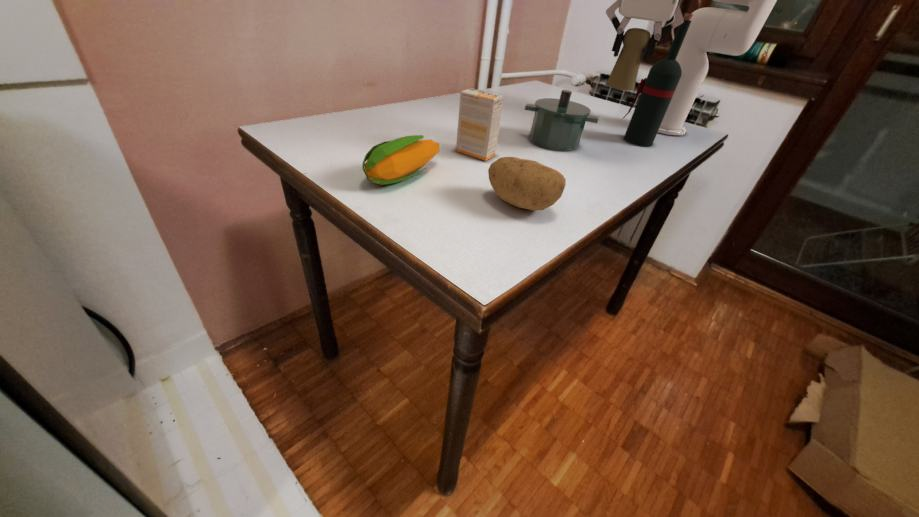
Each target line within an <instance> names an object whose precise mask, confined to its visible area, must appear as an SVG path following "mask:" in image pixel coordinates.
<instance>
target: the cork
mask: <svg viewBox="0 0 919 517" xmlns="http://www.w3.org/2000/svg"><path fill="white" fill-rule="evenodd" d="M623 35H624V38H623V41H622V48H621V49H620V50H621V51H619V53H618V56H617V59H616V61H615V63H614V66H613V68H612V70H611V72H610V74H609V77H608V79H607V81H606V83H605V86H607V87H609V88H612V89H615V90H620V91H628V92H629V91H634V90H635V87H636V82H637V78H638V74H639V70H640V66H641V62H642V56H643V54H644V50H645V48H646V46H647V45H648V43H649V41H650V38H651V32H650V31H649V30H647V29H644V28H639V27H631V28H628V29H627V30H626V31H624V34H623Z"/></svg>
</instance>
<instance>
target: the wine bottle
mask: <svg viewBox="0 0 919 517" xmlns="http://www.w3.org/2000/svg"><path fill="white" fill-rule="evenodd" d="M693 15H694V14H692V13H687V12H685V13H684V14H683V19H684V22H683V23H682V24H681V25H679V26H677V30H676V32H675V35H674V37H673V39H672V42H671V45H670V47H669V50H668V53H667V55H666V57H665V58H662V59H660V60H658V61H656V62H655V63H654V64H653V65H652V66H651V67H650V69H649V71H648V74H647V76H646V77H644V78H641V79H640V82H639V83H638V85H637V87H636V93H635V97H634V99H633V101H632V103H631V105H630V107H629V109H628V111H627V113H626V114H625V115H624V116H623V117H622V118H621V120H620V121H622V120H624V119H625V118H626V117H627V116H628V115H629V114H630V113H631V111H632V110H633V107H634V110H633V113H632V115H631V117H630V120H629V123H628V126H627V128H626V131H625V134H624V136H623V141H624V142H626V143H628V144H630V145H633V146H637V147H641V148H642V147H645V148H648V147H652V146H653V144H654V141H655V140H656V138H657V135H658V130H659V127H660V125H661V123H662V120H663V118H664V116H665V113H666V111H667V109H668V106H669V104H670V101H671V99H672V97H673V94H674V92H675V90H676V87H677V85H678V82H679V80H680V78H681V75H682V70H681V66H680V64H679V63H678V62H677V61H676V58H677V55H678V53H679V50H680V48H681V45H682V43H683V41H684V38H685V36H686V33H687V31H688V28H689V26H690V23H691V21H690V20H691V18H692V16H693ZM636 101H637V103H636ZM635 103H636V104H635ZM634 105H635V106H634Z"/></svg>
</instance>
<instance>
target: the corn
mask: <svg viewBox="0 0 919 517" xmlns="http://www.w3.org/2000/svg"><path fill="white" fill-rule="evenodd" d="M424 138H425V136H424V135H423V134H418V135H417V134H416V135H415V134H414V135H405V136H401V137H399V138H395V139H392V140H388V141H383V142H381V143H378V144H375V145H373V146H372V147H371V148H370V149H369V150H368V151H367V153H366V154H365V156H364V158H363V161H362V165H361V167H362V170H363V173H364V175H365V178H366V179H367V181H370V182H372V183H373V184H376V185H380V186H384V185H392V184H396V183H401V182H404V181H405V180H408V179H410V178H413V177H414V176H416V175H418V174H419V173H421V172H423V171H424V170H426V169H427V167H424V166H426V165H427V164H428V163H429V162H430V161H431V160H432V159H433V158H434V157H435V156H436V155H437V154H438V153H439V152H440V150H441V148H440V143H438V142H437V141H435V140H432V139H424ZM423 167H424V168H423ZM421 168H423V169H421Z"/></svg>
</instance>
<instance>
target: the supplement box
mask: <svg viewBox="0 0 919 517" xmlns="http://www.w3.org/2000/svg"><path fill="white" fill-rule="evenodd" d="M459 96H460V97H459V105H458V106H459V108H458V120H457V132H456V146H455V152H457V153H461V154H464V155H466V156H470V157H473V158H476V159H479V160H482V161H485V162H486V161H487V160H490V159H491V158H493V157H495V156H496V151H497V146H498V139H499V138H498V137H499V131H500V124H501V119H502V118H501V117H502V111H503V105H504V97H505V96H504V95H503V94H497V93H493V92H489V91H484V90H481V89H476V88H473V87H471V88H467V89H464V90H461V91H460V95H459Z"/></svg>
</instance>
